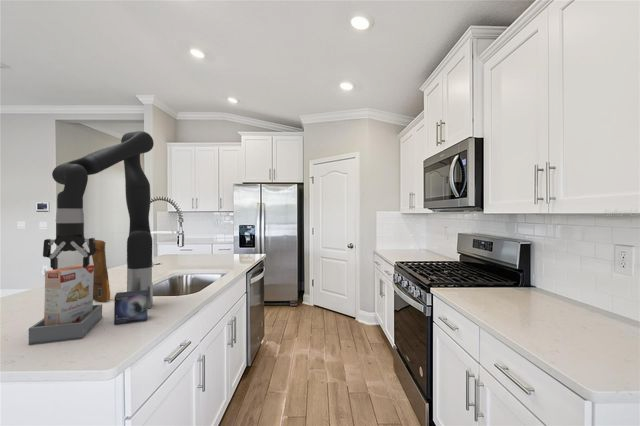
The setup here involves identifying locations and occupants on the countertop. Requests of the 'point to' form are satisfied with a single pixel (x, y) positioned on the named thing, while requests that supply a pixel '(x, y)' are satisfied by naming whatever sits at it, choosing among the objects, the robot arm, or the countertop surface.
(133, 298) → the small box
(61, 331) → the tray
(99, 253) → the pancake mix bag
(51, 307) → the cracker box
